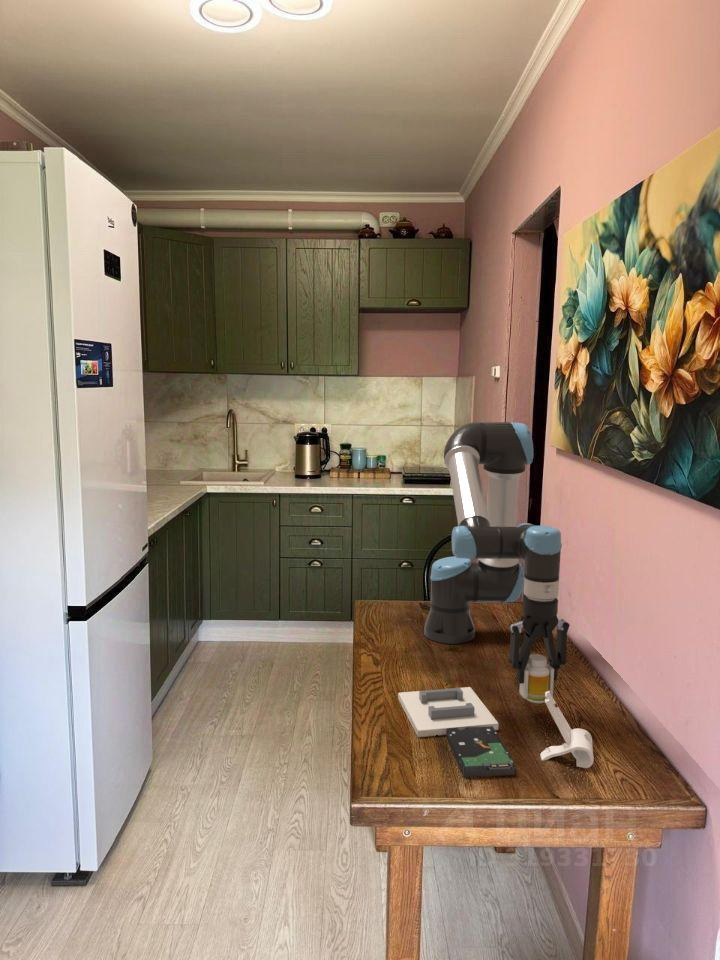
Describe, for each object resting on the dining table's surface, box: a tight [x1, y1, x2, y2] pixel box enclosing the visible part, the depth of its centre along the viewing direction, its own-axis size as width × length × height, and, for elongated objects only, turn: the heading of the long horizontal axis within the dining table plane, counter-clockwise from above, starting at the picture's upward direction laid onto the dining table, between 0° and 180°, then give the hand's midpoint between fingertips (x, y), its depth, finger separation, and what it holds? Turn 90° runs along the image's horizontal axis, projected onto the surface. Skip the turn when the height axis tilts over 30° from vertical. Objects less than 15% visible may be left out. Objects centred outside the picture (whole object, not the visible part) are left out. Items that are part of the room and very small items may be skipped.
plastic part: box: [540, 691, 594, 769], centre depth 132 cm, size 8×10×12 cm
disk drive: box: [445, 726, 516, 778], centre depth 133 cm, size 10×3×15 cm
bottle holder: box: [397, 686, 499, 738], centre depth 150 cm, size 18×18×4 cm
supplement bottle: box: [525, 653, 549, 704], centre depth 149 cm, size 5×5×10 cm
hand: (536, 694), depth 149 cm, fingers closed on supplement bottle, 5 cm apart
